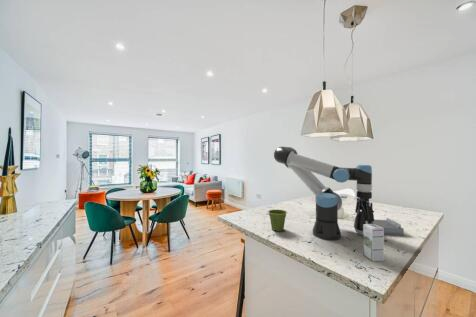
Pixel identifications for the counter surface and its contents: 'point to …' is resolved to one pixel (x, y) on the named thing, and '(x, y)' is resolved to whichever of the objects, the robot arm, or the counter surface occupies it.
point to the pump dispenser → (360, 221)
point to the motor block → (390, 227)
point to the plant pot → (277, 219)
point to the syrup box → (373, 242)
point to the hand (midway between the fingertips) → (364, 228)
